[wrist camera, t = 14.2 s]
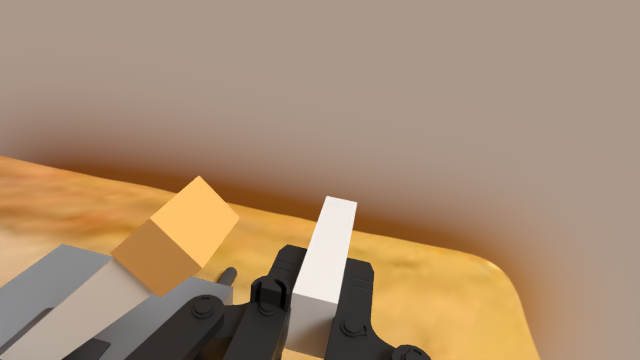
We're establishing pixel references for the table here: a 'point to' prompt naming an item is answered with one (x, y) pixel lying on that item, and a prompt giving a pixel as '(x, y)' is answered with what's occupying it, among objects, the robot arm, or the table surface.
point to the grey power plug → (71, 272)
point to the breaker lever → (131, 274)
